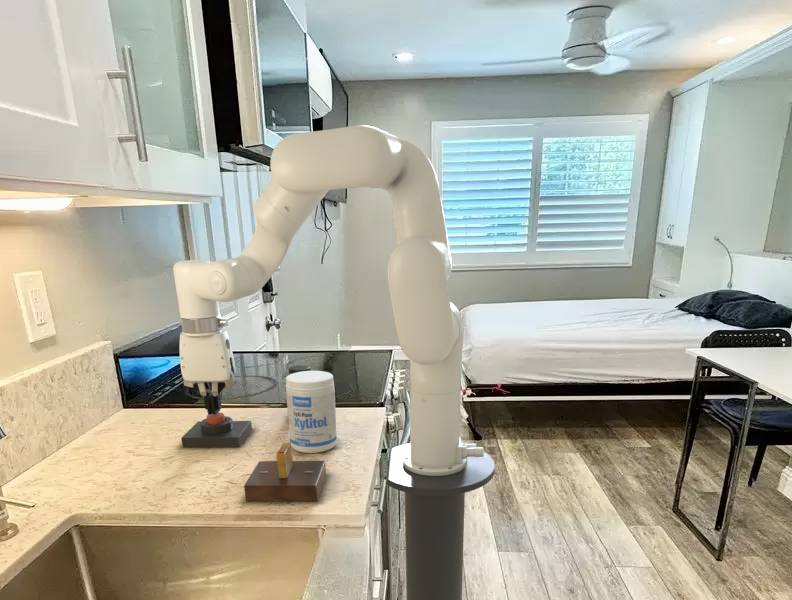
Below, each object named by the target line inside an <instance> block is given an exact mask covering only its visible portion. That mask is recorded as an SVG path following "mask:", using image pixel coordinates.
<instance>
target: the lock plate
mask: <svg viewBox="0 0 792 600" xmlns="http://www.w3.org/2000/svg"><path fill="white" fill-rule="evenodd" d="M292 461H293V467H292V469H291V471H290V473H289V475H288V477H287V478H279V473H278V464H277V460H266V461H265V460H260V461H258V463H257V464H256V466H255V467H254V468H253V470H252V472H251V474H250V476H249V477H248V479H247V480H246V481H245V484H244V485H243V488H244V494H245V501H246V503H247V502H248V503H249V502H251V503H253V502H255V503H256V502H260V503H261V502H262V503H263V502H266V503H267V502H268V503H269V502H271V503H272V502H318V501H319V498H320V495H321V492H322V489H323V486H324V483H325V480H326V477H327V468H326V461H325V460H292Z"/></svg>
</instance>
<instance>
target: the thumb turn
mask: <svg viewBox="0 0 792 600" xmlns="http://www.w3.org/2000/svg"><path fill="white" fill-rule="evenodd" d="M292 452H293V451H292V446H291V443H290V442H282V444H281V445H280V447H279V449H278V450H277V452H276V461H277V464H278V473H279V478H287V477H288V475H289V473H290V471H291V469H292V467H293V461H294V460H293V453H292Z"/></svg>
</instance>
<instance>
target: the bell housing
mask: <svg viewBox="0 0 792 600" xmlns="http://www.w3.org/2000/svg"><path fill="white" fill-rule="evenodd" d="M224 417H225V422H224V423H221V424H215V425H210V424H208V423H207V417H206V418H204V419H202V420H201V421H197V422H196V423H194V425H193V426H192V427H190V428H189V430H188V431H186V432H185V433H184V434H183V435H182V436H181V438H180V440H181V447H182V448H185V449H186V448H190V449H192V448H241V446H242V445H243V443H244V442H245V440H246V439H247V438H248V437H249V435H250V434H251V433H252V431H253V425H252V424H253V423H252V420H233V418H232V417H231V416H226V415H224Z"/></svg>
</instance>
